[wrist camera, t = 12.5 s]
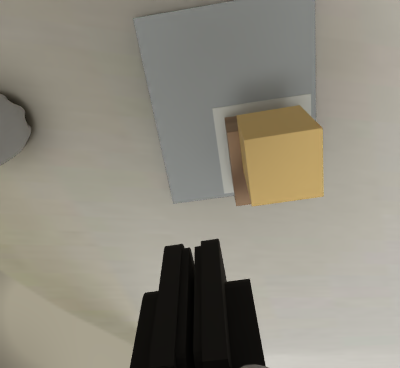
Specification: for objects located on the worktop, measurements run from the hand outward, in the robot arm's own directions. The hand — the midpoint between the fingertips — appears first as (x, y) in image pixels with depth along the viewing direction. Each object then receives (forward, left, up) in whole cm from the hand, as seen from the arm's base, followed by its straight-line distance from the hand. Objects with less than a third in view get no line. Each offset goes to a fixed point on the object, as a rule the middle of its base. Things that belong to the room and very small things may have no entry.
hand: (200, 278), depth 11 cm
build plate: (+1, +3, -25) cm, 25 cm away
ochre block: (+3, +5, -19) cm, 20 cm away
